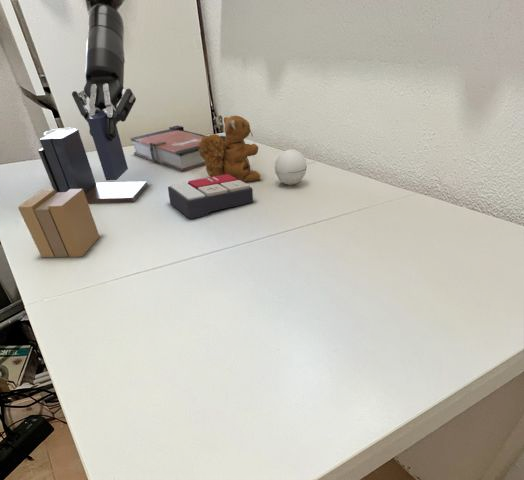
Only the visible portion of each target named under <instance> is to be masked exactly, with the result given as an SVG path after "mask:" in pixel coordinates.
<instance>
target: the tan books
mask: <svg viewBox="0 0 524 480" xmlns="http://www.w3.org/2000/svg"><path fill="white" fill-rule="evenodd" d="M17 209H18V210H19V213H20V215H21V217H22V219H23V222H24V223H25V225H26V228H27V230H28V233H29V234H30V235H31V238H32V240H33V242H34V244H35V246H36V248H37V251H38V253H39V254H40V257H41V258H82V257H84V256H85V255H86V253H87V252H88V251H89V250H90V249H91V247H92V246H93V245H94V244H95V243H96V242H97V241H98V239H99V238H100V236H101V235H100V234H99V231H98V228H97V225H96V222H95V219H94V217H93V214H92V210H91V208H90V205H89V203H88V202H87V199H86V196H85V193H84V191H83V189H70V190H68V191H67V192H57V193H56V191H55V190H54V189H41V190H40V191H38V192H37V193H35V194H34V195H33V196H31V197H29V198H28V199H27V200H26V201H24V202H23V203H22V204H20V205H18V206H17Z"/></svg>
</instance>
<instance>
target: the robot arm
mask: <svg viewBox="0 0 524 480" xmlns="http://www.w3.org/2000/svg"><path fill="white" fill-rule="evenodd" d="M125 1H126V0H85V5H86V10H87V14H88V29H87V31H88V33H87V40H86V47H85V48H86V49H85V50H86V52H85V84H84V85H83V90H81V91H80V92H78V91H76V90H74V91H72V93H71V96H72V98H73V100H74V102H75V104H76V107H77V109H78V111H79V113H80V116H82V117H83V119H84V120H85V121H86V122H87V123H88V121H87V118H89V117H91V116H93V115H95V114H97V113H99V112H101V111H106V110H107V117H108V118H106V137H107V138H108V139H109V140H110V141H113V140H114V138H115V136H116V126H117V125H118V123H119V122H122V123H123V122H125V121H126V120H127V118H128V116H129V114H130V113H131V110H132V108H133V106H134V105H135V103H136V100H137V98H136V96H135V94H134V92H133V91H132V89H131V88H125V87H124V83H125V82H124V78H125V62H126V61H125V49H124V47H125V46H124V44H125V43H124V42H125V25H124V20H123V17H122V15H121V13H120V12H119V9H120V7H121V6H122V5H123V4H124V2H125ZM87 98H88V99H89V101H88V99H87ZM87 102H88V103H87ZM87 105H88V106H89V110H88V107H87ZM89 135H90V136H91V137H92V134H91V131H90V130H89Z"/></svg>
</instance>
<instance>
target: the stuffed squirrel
mask: <svg viewBox="0 0 524 480" xmlns="http://www.w3.org/2000/svg"><path fill="white" fill-rule="evenodd" d="M223 123H224V134H225V136H226V137H225V141H224V140H223V139H222V138H221V137H220V136H221V135H219V134H216V133H212V134H209V135H205V136H204V137H202V138H201V141H200V142H199V143H197V144H198V145H199V146H200V149H199V151H198V152H199V154H200V156H201V157H202V158H203V159H204V160H205V161H204V163H205V165H204V166H205V171H206V173H207V175H208V176H209V177H214V176H219V175H225V174H229V175H231V176H233V177H235V178H237V179H238V180H240V181H242V182H244V183H247V182H248V183H249V182H255V181H256V182H257V181H259V180H260V179H261V173H259V172H258V171H256V170H252V171H251V168H252V167H251V163H250V160H249V158H248V157H252V156H253V157H254V156H255V155H256V156H257V154H258V152H259V146H258V145H257V144H256V143H252V144H250V143H246V141H245V139H247V138H248V137H249V136H250V135H251V137H254V136H253V132H252V130H251V124H250V122H249V120H247V119H246V118H244V117H242V116H240V115H231V116H229V117H228V116H225V117H224V118H223Z"/></svg>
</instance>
